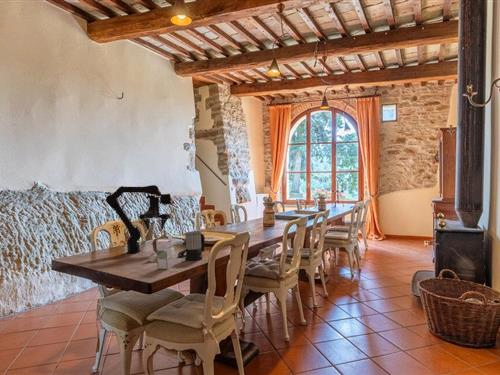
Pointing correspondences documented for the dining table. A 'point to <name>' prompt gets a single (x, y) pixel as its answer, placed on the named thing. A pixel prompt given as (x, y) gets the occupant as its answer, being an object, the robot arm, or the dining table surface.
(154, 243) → the tin
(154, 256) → the pale block
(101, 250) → the dining table surface
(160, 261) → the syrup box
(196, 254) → the milk frother
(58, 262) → the dining table surface
